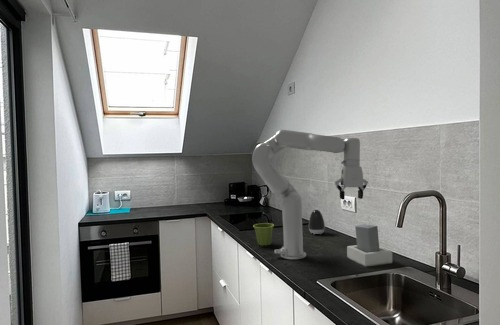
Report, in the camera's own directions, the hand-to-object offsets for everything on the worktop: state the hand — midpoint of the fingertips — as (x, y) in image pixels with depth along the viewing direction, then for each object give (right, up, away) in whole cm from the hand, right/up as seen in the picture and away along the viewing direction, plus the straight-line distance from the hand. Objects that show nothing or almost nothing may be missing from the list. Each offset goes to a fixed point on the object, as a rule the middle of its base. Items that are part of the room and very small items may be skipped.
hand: (351, 198), depth 170 cm
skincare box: (+6, -28, -6) cm, 29 cm away
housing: (+7, -28, -6) cm, 30 cm away
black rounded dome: (-7, -28, +51) cm, 58 cm away
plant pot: (-41, -29, +28) cm, 58 cm away
